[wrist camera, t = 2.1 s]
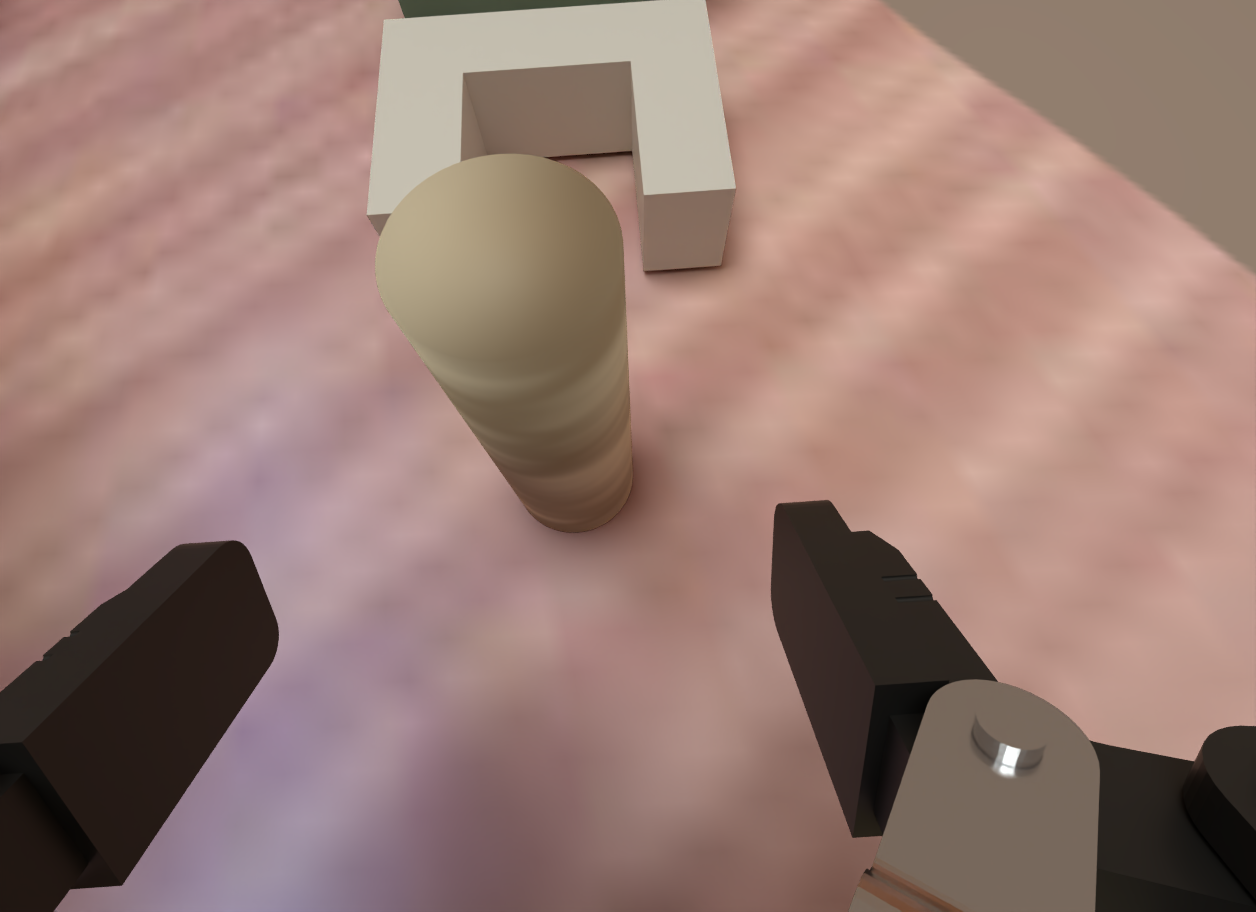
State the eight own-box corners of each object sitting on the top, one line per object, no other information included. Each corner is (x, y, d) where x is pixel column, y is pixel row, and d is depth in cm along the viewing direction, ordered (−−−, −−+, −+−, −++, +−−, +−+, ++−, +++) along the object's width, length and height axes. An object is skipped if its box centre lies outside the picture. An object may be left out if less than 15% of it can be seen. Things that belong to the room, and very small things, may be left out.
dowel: (504, 520, 21) (339, 337, 9) (532, 413, 22) (418, 139, 11) (620, 542, 20) (594, 380, 9) (642, 432, 22) (643, 170, 10)
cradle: (720, 265, 24) (736, 188, 20) (410, 288, 24) (366, 214, 20) (696, 92, 27) (705, -3, 23) (420, 112, 27) (384, 19, 23)
